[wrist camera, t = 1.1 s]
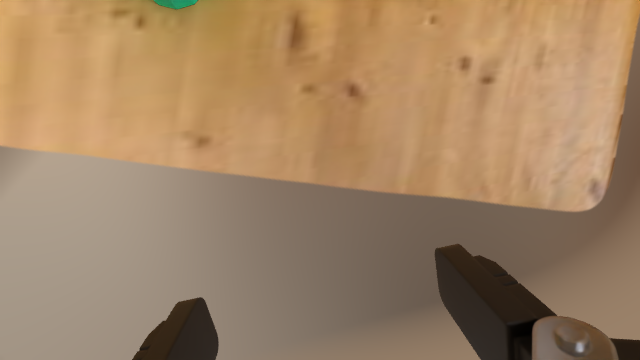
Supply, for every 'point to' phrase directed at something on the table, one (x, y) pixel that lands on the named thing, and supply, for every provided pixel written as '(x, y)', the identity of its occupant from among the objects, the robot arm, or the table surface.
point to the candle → (175, 3)
